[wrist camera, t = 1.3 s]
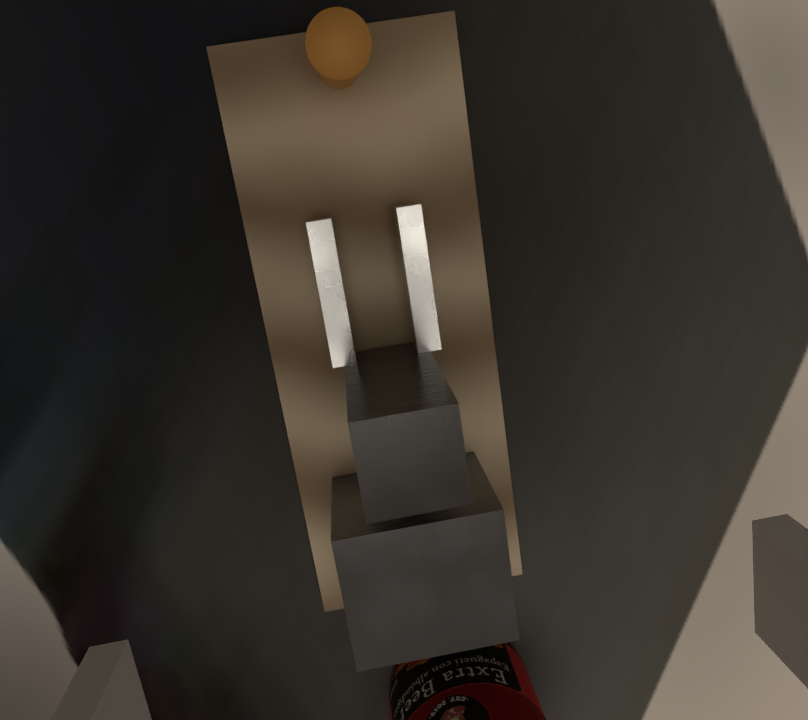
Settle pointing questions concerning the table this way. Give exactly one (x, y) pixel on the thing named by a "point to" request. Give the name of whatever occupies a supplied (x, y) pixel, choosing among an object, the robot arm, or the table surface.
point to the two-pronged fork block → (396, 387)
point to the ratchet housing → (423, 576)
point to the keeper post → (338, 46)
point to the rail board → (361, 237)
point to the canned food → (465, 687)
